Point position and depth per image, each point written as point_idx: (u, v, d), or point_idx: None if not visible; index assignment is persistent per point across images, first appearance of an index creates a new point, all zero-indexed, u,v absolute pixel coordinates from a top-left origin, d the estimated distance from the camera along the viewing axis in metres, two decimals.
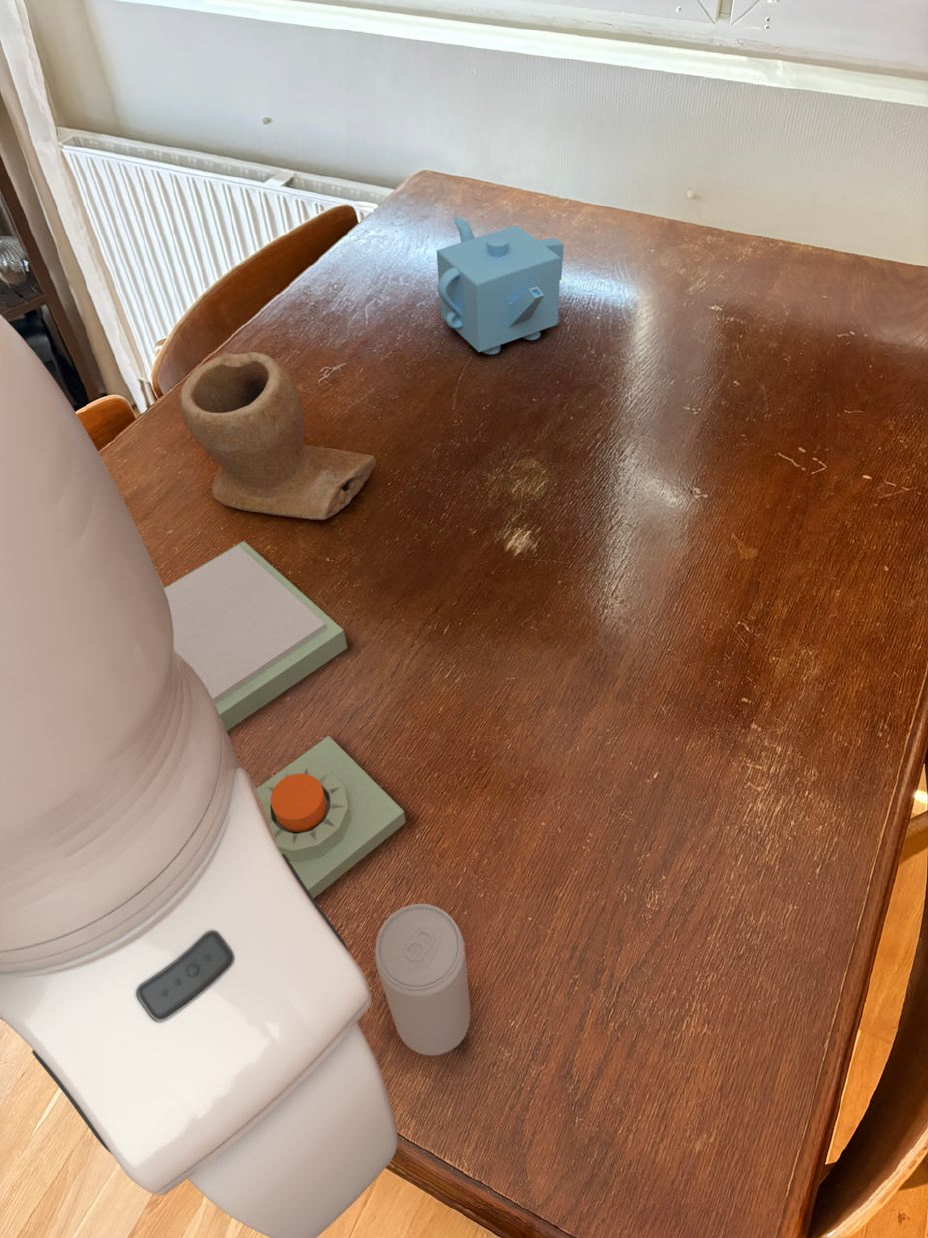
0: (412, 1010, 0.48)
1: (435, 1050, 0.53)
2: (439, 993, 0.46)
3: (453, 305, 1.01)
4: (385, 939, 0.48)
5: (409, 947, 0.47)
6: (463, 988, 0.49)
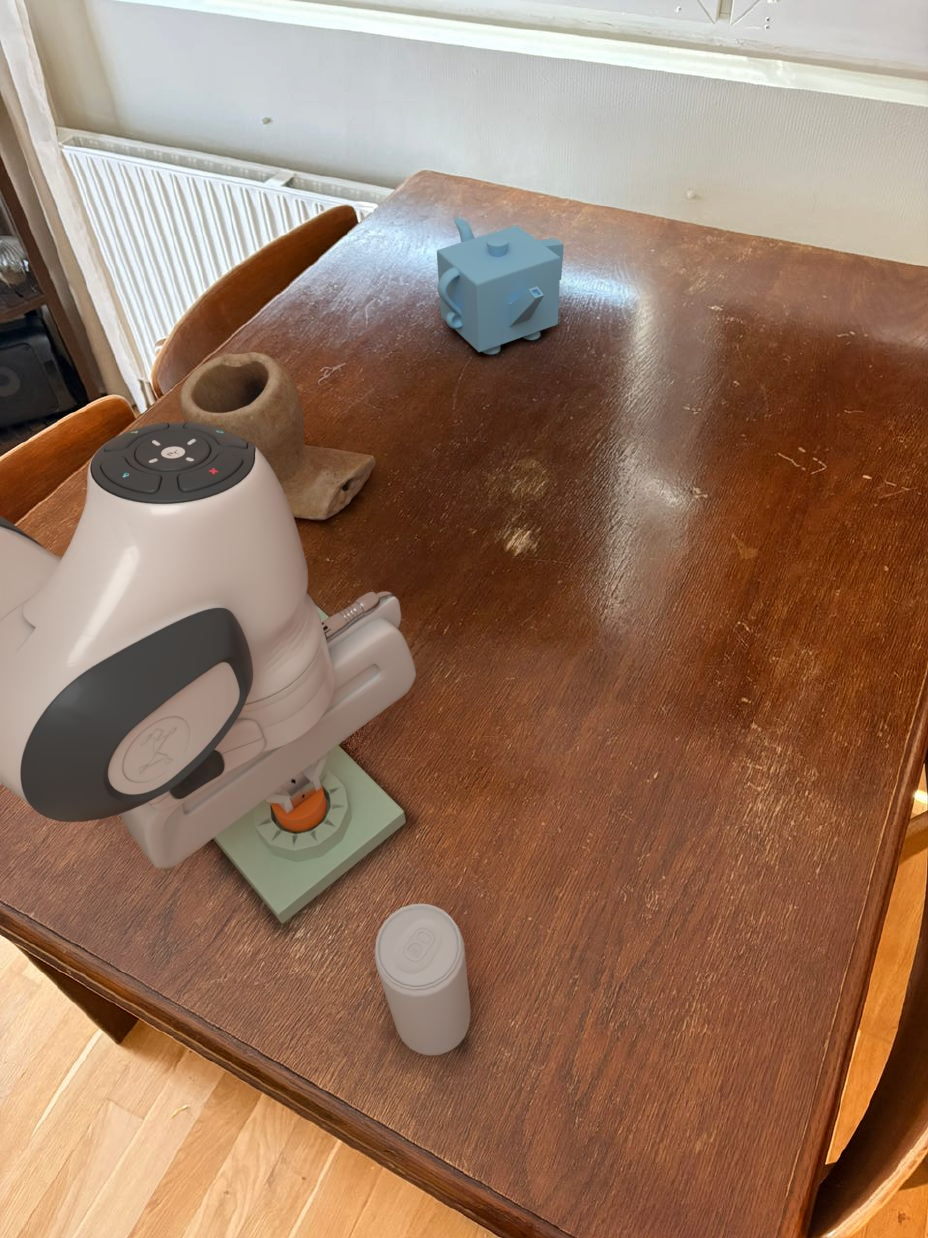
0: (412, 1010, 0.48)
1: (435, 1050, 0.53)
2: (439, 993, 0.46)
3: (453, 305, 1.01)
4: (384, 938, 0.48)
5: (409, 947, 0.47)
6: (463, 988, 0.49)
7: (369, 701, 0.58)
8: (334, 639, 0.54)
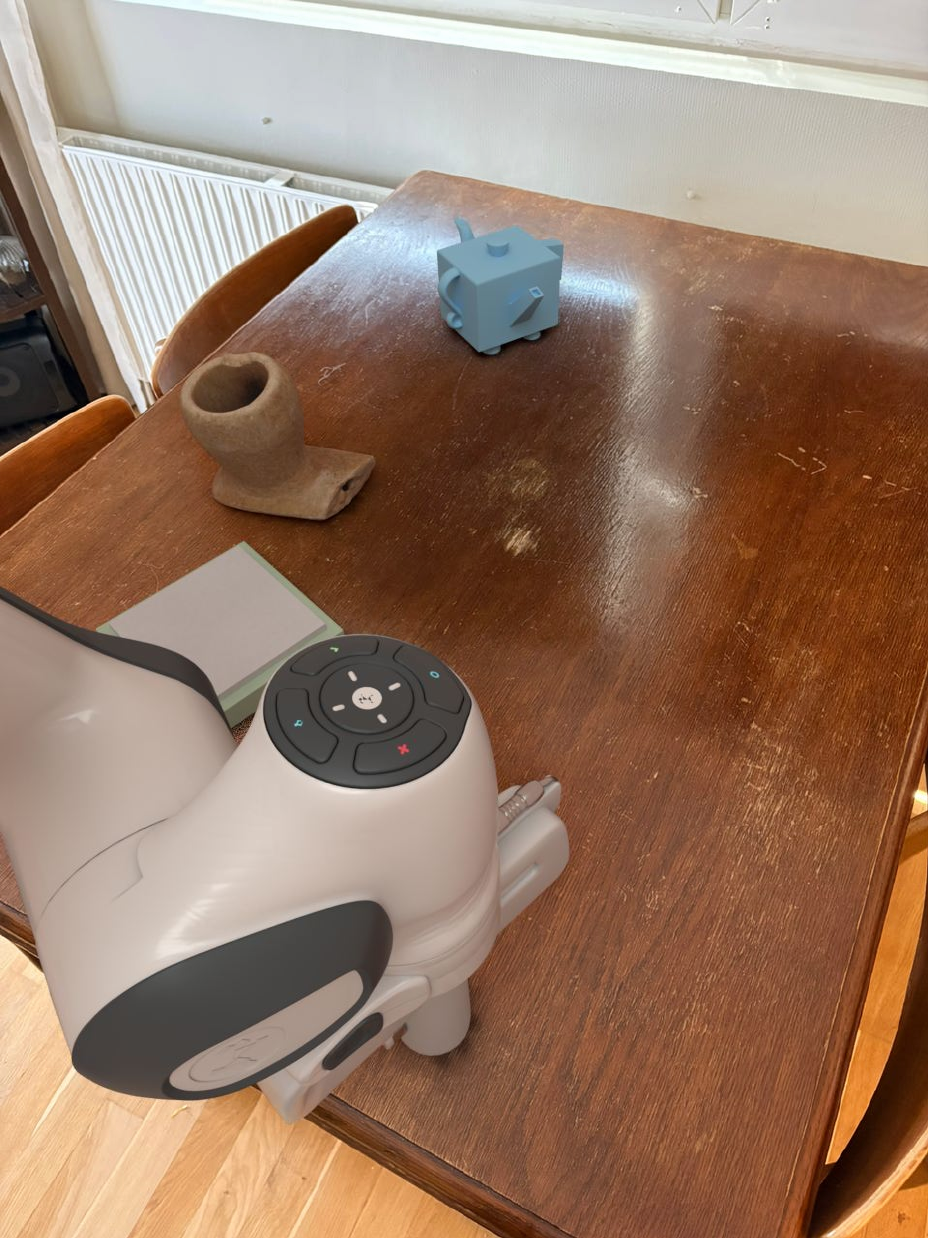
0: None
1: (435, 1051, 0.53)
2: None
3: (453, 305, 1.01)
4: None
5: None
6: (463, 988, 0.49)
7: (522, 898, 0.49)
8: None
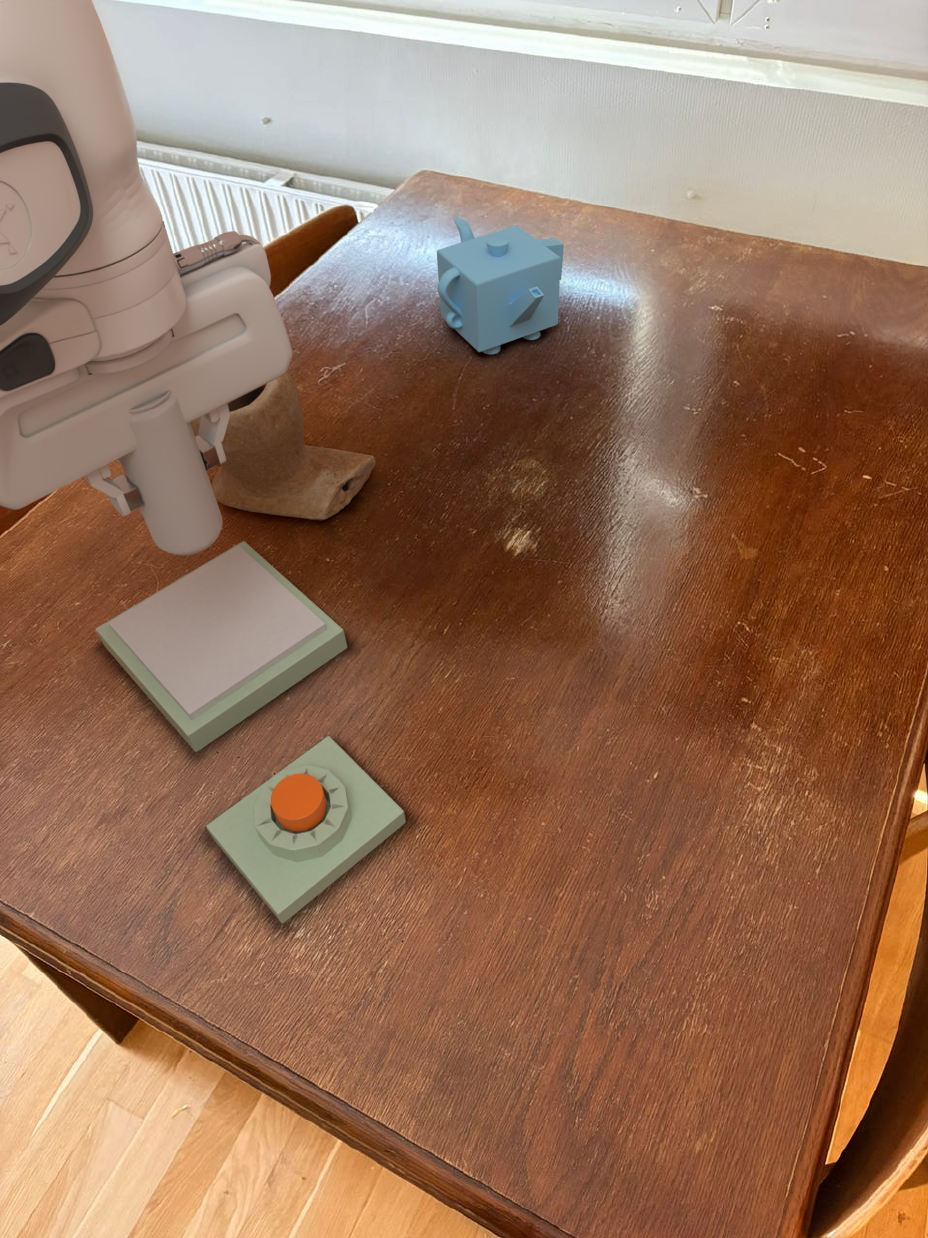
0: (133, 453, 0.54)
1: (180, 542, 0.59)
2: (149, 422, 0.52)
3: (453, 305, 1.01)
4: None
5: None
6: (187, 450, 0.55)
7: (237, 365, 0.55)
8: (190, 274, 0.51)
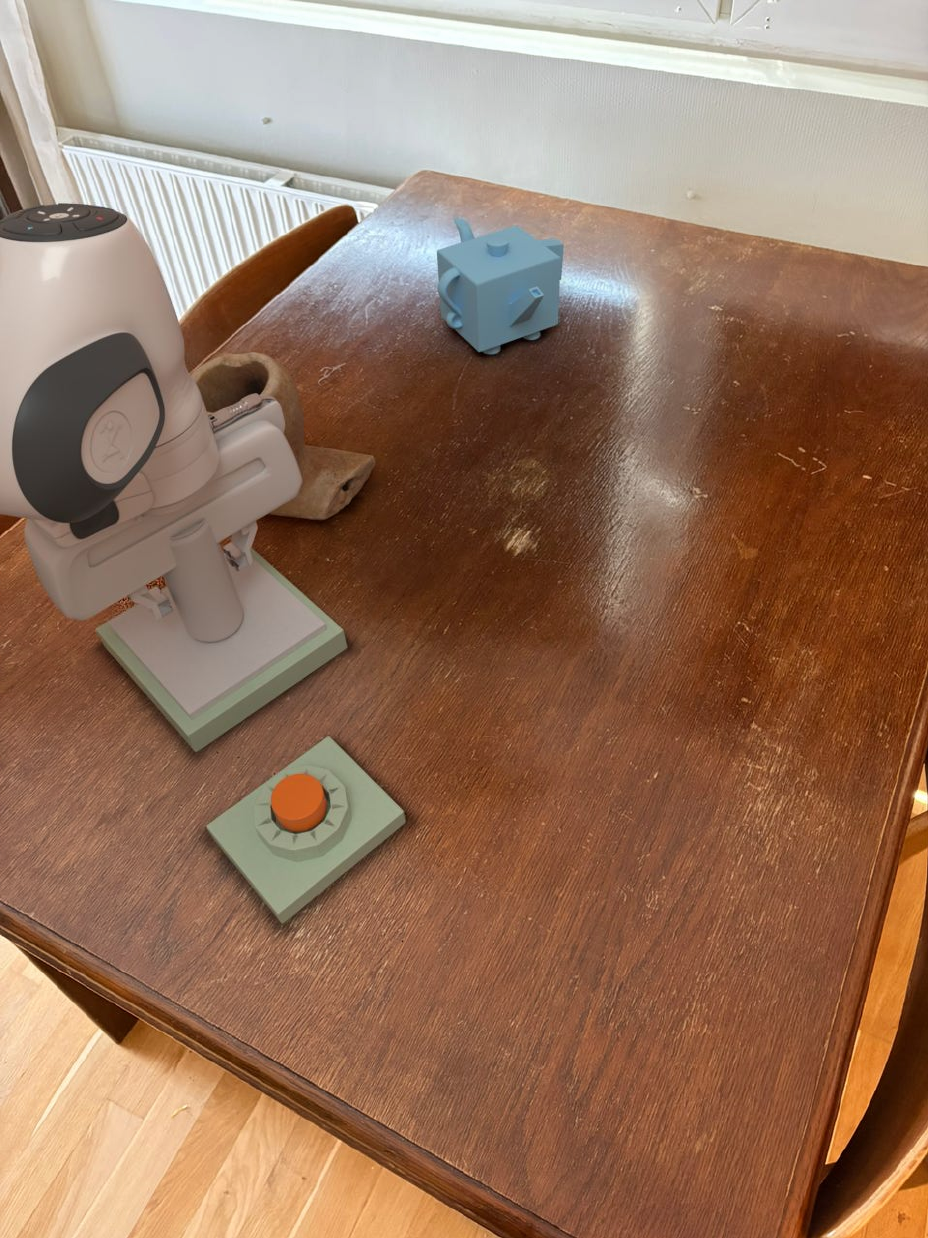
0: None
1: (209, 633, 0.71)
2: (187, 546, 0.64)
3: (453, 305, 1.01)
4: None
5: None
6: (216, 563, 0.68)
7: (258, 496, 0.67)
8: (222, 430, 0.63)
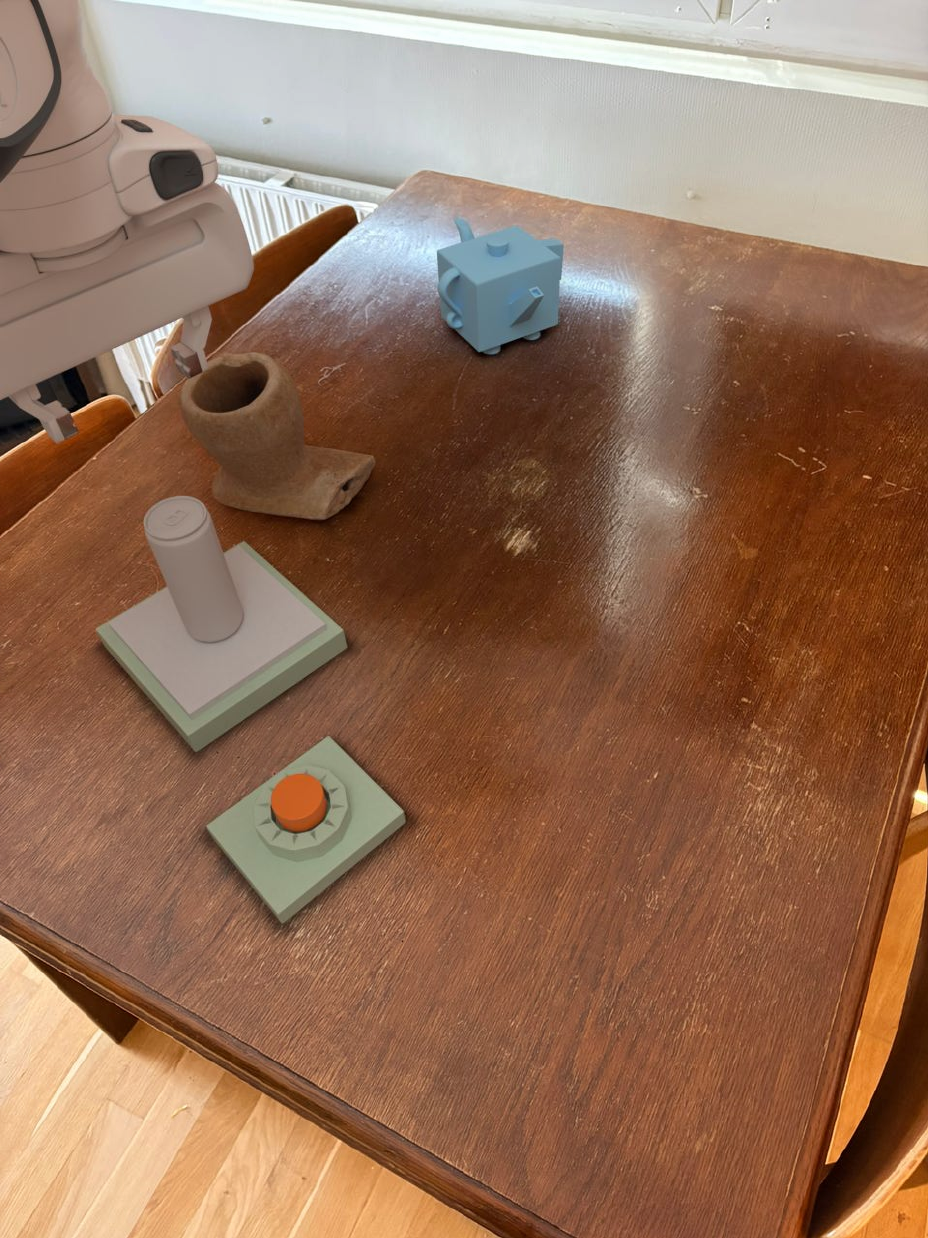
0: (173, 568, 0.66)
1: (209, 633, 0.71)
2: (187, 546, 0.64)
3: (453, 305, 1.01)
4: (152, 514, 0.66)
5: (168, 518, 0.65)
6: (216, 563, 0.68)
7: None
8: None
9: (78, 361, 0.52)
